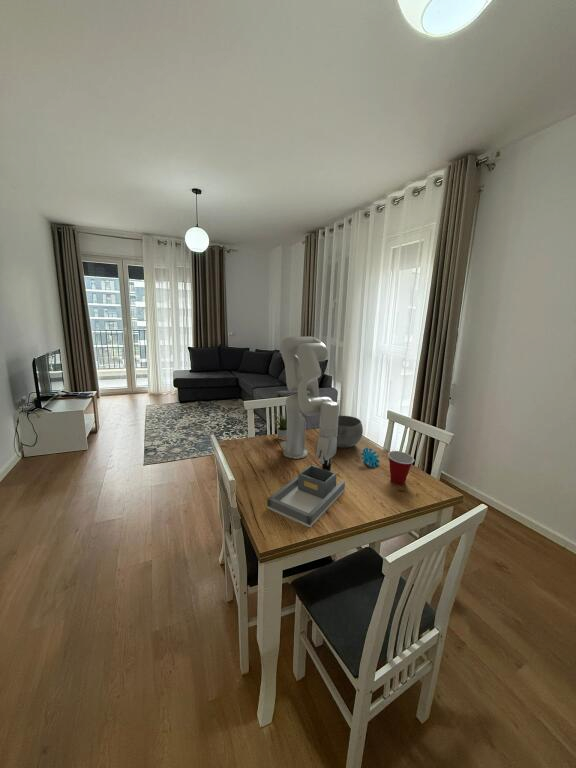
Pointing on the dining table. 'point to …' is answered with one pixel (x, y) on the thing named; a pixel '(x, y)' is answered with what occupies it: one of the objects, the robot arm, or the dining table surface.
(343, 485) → the bay
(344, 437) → the bowl
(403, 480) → the plastic cup
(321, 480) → the crate
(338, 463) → the dining table surface
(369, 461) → the gear
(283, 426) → the house plant
